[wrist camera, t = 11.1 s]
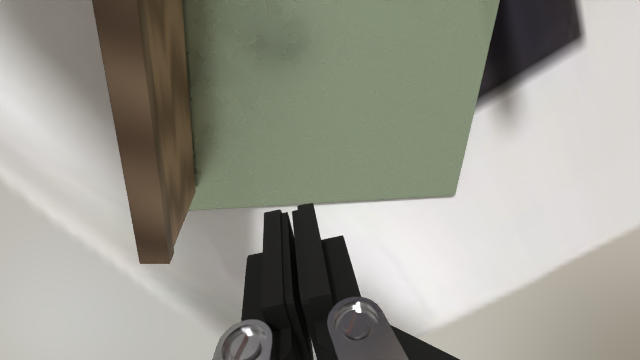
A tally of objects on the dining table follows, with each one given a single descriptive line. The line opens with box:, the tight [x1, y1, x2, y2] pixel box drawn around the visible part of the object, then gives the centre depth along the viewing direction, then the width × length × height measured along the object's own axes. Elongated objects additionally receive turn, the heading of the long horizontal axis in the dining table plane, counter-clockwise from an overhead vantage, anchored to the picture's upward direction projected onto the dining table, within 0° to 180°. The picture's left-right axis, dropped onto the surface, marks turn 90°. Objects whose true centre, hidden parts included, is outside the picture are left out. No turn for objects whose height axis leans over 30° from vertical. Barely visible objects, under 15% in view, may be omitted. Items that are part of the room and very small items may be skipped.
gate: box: [92, 0, 196, 264], centre depth 24 cm, size 20×2×10 cm, turn 174°
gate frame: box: [182, 0, 500, 210], centre depth 24 cm, size 30×28×14 cm
